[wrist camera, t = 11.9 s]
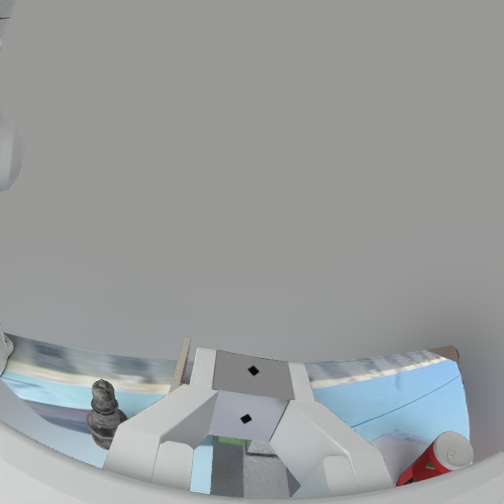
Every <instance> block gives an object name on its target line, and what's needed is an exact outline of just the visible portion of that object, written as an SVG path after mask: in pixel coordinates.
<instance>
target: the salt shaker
mask: <svg viewBox="0 0 504 504" xmlns="http://www.w3.org/2000/svg"><path fill="white" fill-rule="evenodd" d="M92 395H93V399H92V402H91V406H92V408H93V410H92V411H90V413H89V414H88V416H87V425H88V428H89V429H90V431H91V432H92V437H93V439H94V441H95V443H96V444H97V445H98V446H100V447H101V448H103V449H106V450H109V449H110V446H111V443H112V441H113V438H114V436H115V433H116V430H117V428H118V425H120V424H121V423H123V422H125V421H126V420H128V419H127V417H126V415H125V414H124V413H123V412H122V411H120V410H119V409H118V407H119V406H118V402H117V400H116V399H115V395H114V388H113V386H112V385H111V384H110V383H109V382H107V381H104V380H102V379H101V380H99V381H96V382H95V383H94V384H93V386H92Z"/></svg>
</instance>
